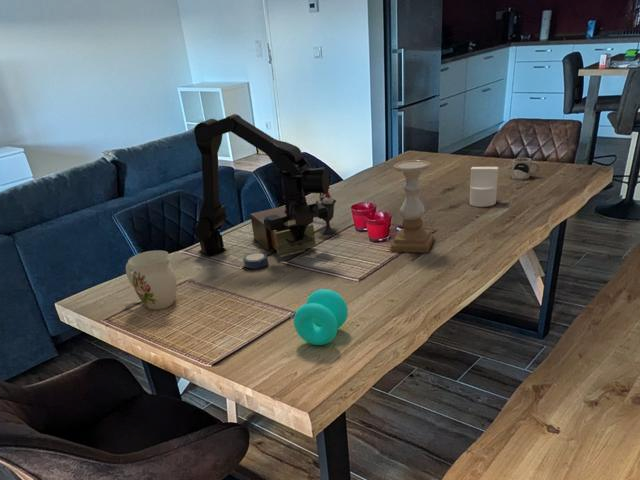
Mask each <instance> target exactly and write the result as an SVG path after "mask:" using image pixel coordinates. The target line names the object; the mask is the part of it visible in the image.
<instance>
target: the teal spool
mask: <svg viewBox="0 0 640 480" xmlns="http://www.w3.org/2000/svg"><path fill="white" fill-rule="evenodd" d="M348 315H349V309H348V306H347V303H346V301H345V299H344V298H343V297H342V295H340V294H339V293H338V292H336V291H334V290H331V289H329V288H328V289H327V288H320V289H317V290H315V291H313V292H312V293H310V294H309V296H308V298H307V299H306V303H305V304H303V305H301V306H300V307H298V309H297V310H296V312H295V314H294V317H293V326H294V329H295V331H296V333H297V335H298V336H299V337H300V338H301V339H302V340H303V341H304V342H306V343H307V344H309V345H313V346H324V345H327V344H329V343H331V342H332V341H333V340H334V339H335V337H336V336H337V333H338V329H339V328H341V327H342V326H343V325H344V324H345V323H346V321H347V319H348Z"/></svg>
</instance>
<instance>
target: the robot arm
mask: <svg viewBox="0 0 640 480" xmlns="http://www.w3.org/2000/svg"><path fill="white" fill-rule="evenodd" d="M193 128H194V129H193V135H194V140H195V145H196V146H197V149H198V150H199V152H200V155H201V156H200V158H201V159H200V160H201V181H202V202H201V206H200V208H199V212H198V223H197V225H196V226H195V228H194V229H193V231H192V232H193V234H194V236H195V238H198V241H199V242H198V243H199V246H200V249H199V250H198V251H199V253H200V254H203V255H205V256H207V257H211V256H214V255H217V254H220V253H222V252H226V250H227V249H226V248H225V245H224V240H223V235H222V234H221V231H220V230H221V229H222V226H223V224H224V223H225V220H226V219H227V218H228V217H227V213H226V211H227V206H226V205H223V204H222V203H221V201H220V189H219V187H220V186H219V151H220V148H221V145H222V141H223V136H224V135H225V134H227V133H232V134H234V135H236V136H237V137H238V138H240V139H242V140H243V141H245V142H246V143H248V144H250V145H251V146H253V147H254V148H256V149H258V150H259V151H261V152H262V153H264V154H265V155H266V156H268V158H269V160H270V161H271V162H272V163H273V164H274V165H275V166H276V167H277V168H278V170H277V173H275V175H273V178H274V179H281V184H282V185H281V186H282V190H283V191H282V193H283V195H282V200H283V201H284V206H285V208H286V210H285V214H286V216H283V217H279V216H278V215H276V214H275V215H270V216H266V217H265V218H264V226H265V227H267V228H268V229H269V230H277V229H281V228H282V227H283V225H284V226H286V227H287V228H289V229H290V231H291V233H292V234H293V236H294V238H295V240H298V239H302V238H303V237H304V233H305V230H306V227H307V226H308V225H309V224H313V223H314V219H315V218H318V219H319V220H323V219H322V218H326V217H329V211H328V209H327V208H326V207H325V206H323V205H321V204H317V203H316V202H315V203H312V204H311V203H310V204H308V202H307V197H306V196H305V193H306V194H320V193H321V194H323V193H327V192H328V191H329V190H330V188H329V187H330V177H329V175H328V172H327V171H326V168H325V167H318V168H315V167H314V168H313V167H312V166H311V165H310V164H309V162H308V161H307V159H306V158H305V157H304V156H303V153H302V149H300V147H298V146H296V145H294V144H293V143H290V142H287V141H283V140H278V139H276V138H274V137H273V136H271V135H269V134H267V133H266V132H264V131H263V130H262V129H260V128H258V127H256V126H255V125H253V124H251V123H250V122H248V121H247V120H245V119H244V118H243V117H242V116H240V115H239V114H237V113H233V114H231V115H228V116H226V117H224V118H220V119H218V120H217V119H215V118H209V119H207V120H204V121H201V122H199V123H197V124H196V125H195V126H194V127H193ZM304 192H305V193H304ZM298 245H302V244H298Z"/></svg>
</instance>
